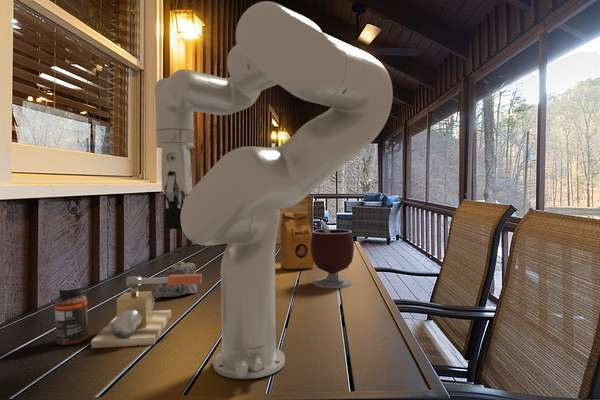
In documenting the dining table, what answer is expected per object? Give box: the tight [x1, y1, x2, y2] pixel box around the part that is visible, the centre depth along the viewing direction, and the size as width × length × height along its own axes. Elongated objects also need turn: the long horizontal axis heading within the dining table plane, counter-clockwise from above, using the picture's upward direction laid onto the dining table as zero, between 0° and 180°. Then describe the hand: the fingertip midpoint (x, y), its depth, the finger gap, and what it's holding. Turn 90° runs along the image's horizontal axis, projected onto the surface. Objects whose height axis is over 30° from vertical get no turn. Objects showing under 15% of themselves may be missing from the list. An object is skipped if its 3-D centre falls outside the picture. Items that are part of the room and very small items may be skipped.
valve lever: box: [126, 273, 203, 288], centre depth 93 cm, size 16×3×2 cm, turn 97°
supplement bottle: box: [54, 284, 89, 346], centre depth 87 cm, size 6×6×11 cm
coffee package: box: [279, 211, 315, 271], centre depth 161 cm, size 10×12×22 cm
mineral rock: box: [152, 261, 199, 298], centre depth 123 cm, size 13×11×10 cm
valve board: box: [90, 309, 172, 349], centre depth 93 cm, size 19×12×2 cm, turn 7°
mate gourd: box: [311, 220, 355, 289], centre depth 136 cm, size 16×14×20 cm
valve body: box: [111, 286, 156, 339], centre depth 93 cm, size 19×6×8 cm, turn 7°
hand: (177, 226), depth 87 cm, fingers open, 5 cm apart
